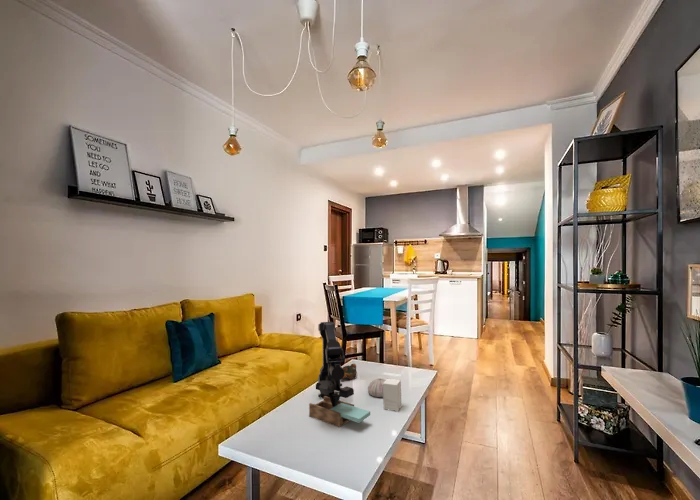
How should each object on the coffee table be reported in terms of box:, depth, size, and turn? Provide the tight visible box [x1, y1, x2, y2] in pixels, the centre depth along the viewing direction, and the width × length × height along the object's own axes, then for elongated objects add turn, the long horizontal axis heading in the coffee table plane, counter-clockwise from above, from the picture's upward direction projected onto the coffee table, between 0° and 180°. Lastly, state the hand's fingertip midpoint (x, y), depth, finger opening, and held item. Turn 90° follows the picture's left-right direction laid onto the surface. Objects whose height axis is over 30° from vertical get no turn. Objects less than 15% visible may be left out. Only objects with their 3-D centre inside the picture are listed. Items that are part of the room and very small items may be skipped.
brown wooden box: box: [308, 396, 355, 428], centre depth 150 cm, size 18×11×6 cm, turn 53°
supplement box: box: [382, 378, 402, 412], centre depth 159 cm, size 7×7×13 cm
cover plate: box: [330, 403, 371, 424], centre depth 144 cm, size 16×9×2 cm, turn 54°
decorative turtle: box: [341, 363, 358, 381], centre depth 201 cm, size 10×15×8 cm, turn 148°
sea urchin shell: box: [367, 378, 386, 398], centre depth 176 cm, size 13×14×8 cm
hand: (334, 407), depth 149 cm, fingers closed
